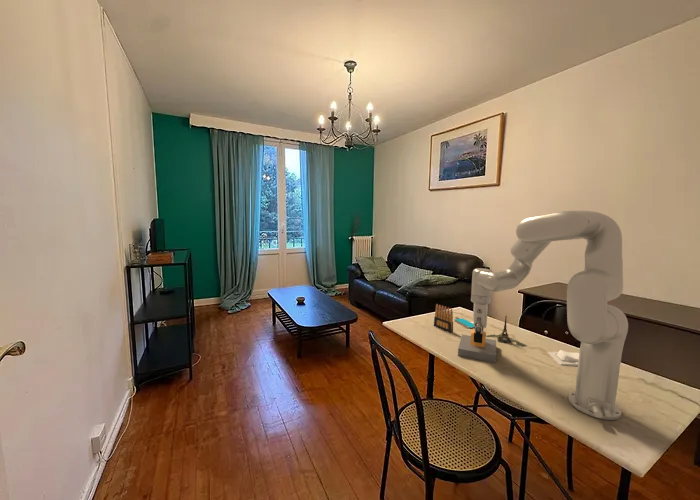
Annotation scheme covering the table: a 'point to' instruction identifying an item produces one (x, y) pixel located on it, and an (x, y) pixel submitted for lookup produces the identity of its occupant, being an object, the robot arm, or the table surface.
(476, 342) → the orange wooden cylinder
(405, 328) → the table surface
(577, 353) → the light switch
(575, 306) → the robot arm
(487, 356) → the box
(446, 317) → the ammunition clip
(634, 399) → the table surface
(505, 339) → the eiffel tower figurine
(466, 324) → the cyan flat board
